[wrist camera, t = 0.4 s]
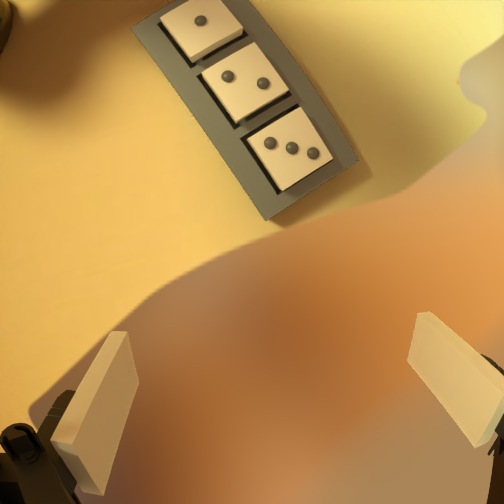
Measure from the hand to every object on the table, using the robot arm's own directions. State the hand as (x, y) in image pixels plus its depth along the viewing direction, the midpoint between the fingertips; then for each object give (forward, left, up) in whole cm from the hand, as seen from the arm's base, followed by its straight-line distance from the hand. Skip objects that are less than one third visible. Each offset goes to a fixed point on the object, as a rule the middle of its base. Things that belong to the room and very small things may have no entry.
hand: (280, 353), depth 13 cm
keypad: (-13, +8, -24) cm, 29 cm away
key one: (-21, +8, -21) cm, 31 cm away
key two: (-13, +8, -21) cm, 27 cm away
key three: (-5, +8, -21) cm, 24 cm away
